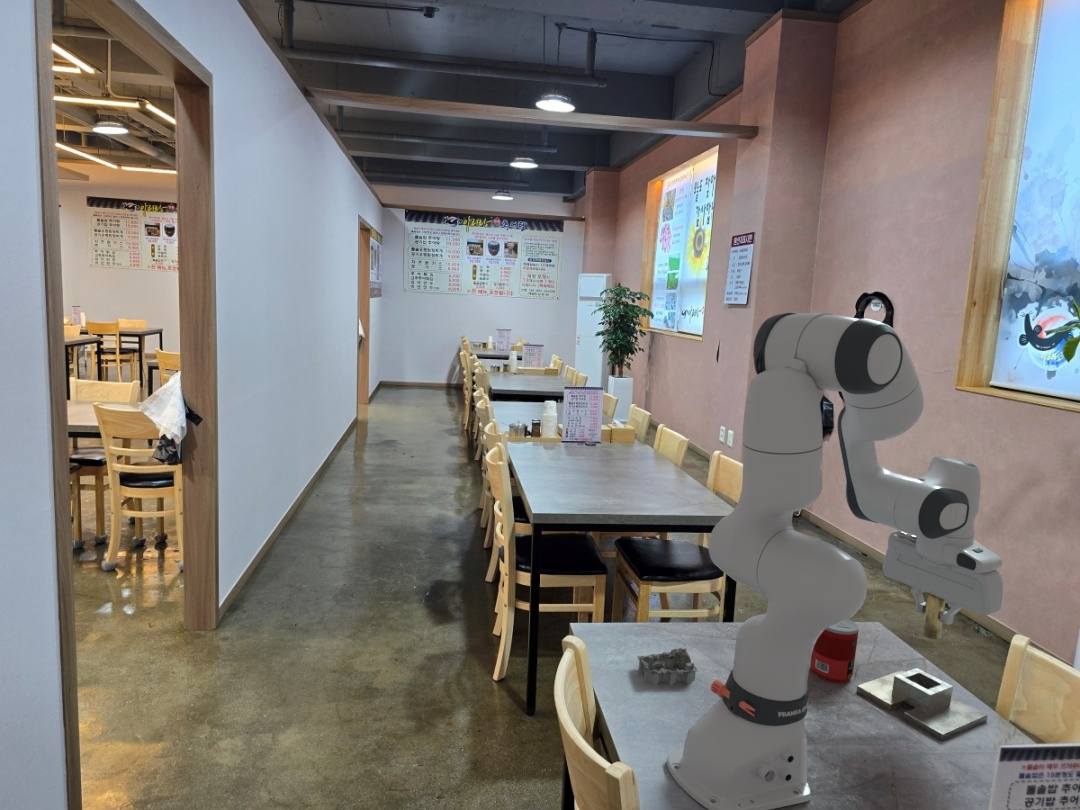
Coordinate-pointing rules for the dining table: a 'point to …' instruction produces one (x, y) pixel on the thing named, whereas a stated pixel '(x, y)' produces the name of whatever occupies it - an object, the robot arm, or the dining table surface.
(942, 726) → the silver plate with socket
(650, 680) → the egg carton
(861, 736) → the dining table surface
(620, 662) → the dining table surface
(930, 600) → the hinge pin
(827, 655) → the canned food
